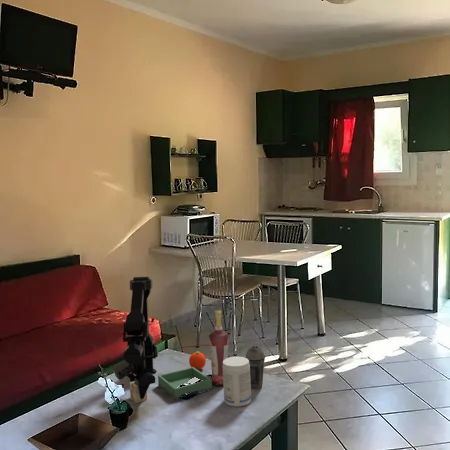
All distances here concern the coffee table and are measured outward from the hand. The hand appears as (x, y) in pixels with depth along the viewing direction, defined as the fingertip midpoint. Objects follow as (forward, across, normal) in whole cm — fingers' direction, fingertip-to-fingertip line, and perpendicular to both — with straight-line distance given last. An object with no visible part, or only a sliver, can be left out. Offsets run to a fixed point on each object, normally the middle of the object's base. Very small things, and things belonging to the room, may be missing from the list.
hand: (138, 395), depth 185 cm
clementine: (+2, -13, +31) cm, 34 cm away
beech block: (+1, 0, 0) cm, 1 cm away
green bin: (+1, +1, +18) cm, 18 cm away
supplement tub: (+1, +22, +28) cm, 36 cm away
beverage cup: (+1, +16, +40) cm, 43 cm away
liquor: (+1, +5, +31) cm, 31 cm away
